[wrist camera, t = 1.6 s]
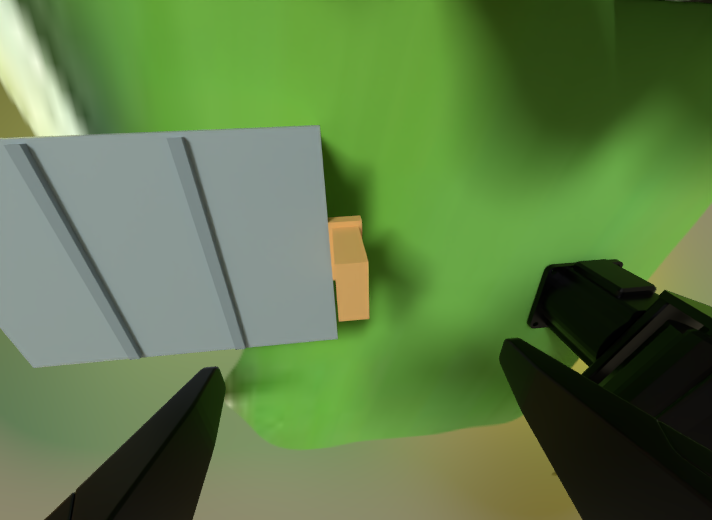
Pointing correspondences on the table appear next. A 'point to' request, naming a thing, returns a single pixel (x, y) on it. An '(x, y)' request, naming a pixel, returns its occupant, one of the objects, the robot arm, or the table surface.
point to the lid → (172, 244)
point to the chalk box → (704, 0)
